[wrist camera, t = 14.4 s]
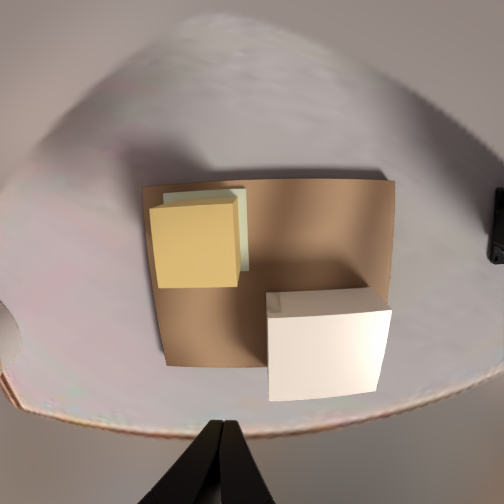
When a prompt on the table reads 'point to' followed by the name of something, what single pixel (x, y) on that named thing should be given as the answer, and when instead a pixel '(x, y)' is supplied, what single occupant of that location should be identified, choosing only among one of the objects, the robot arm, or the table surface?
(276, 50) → the table surface
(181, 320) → the board
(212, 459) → the robot arm
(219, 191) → the thin mint green panel
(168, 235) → the block
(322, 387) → the cover
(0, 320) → the coffee cup
